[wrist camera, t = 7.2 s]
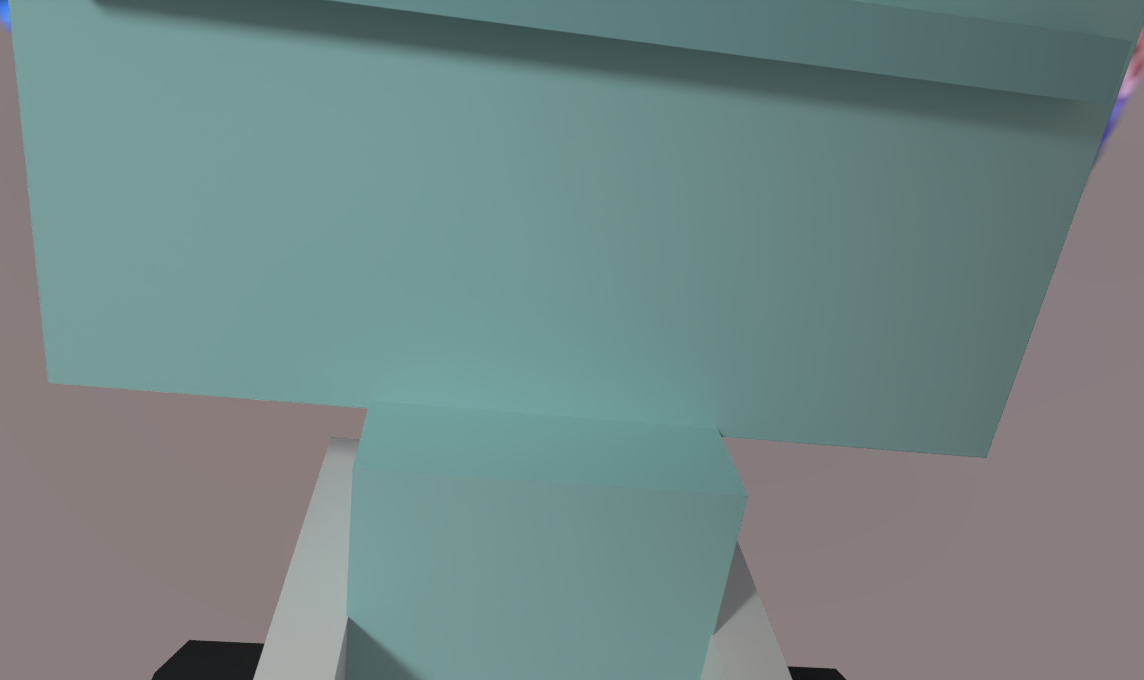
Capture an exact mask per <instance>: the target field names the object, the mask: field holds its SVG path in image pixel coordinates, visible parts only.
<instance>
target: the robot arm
mask: <svg viewBox="0 0 1144 680" xmlns="http://www.w3.org/2000/svg"><path fill="white" fill-rule="evenodd" d="M359 441H360V440H359V439H348V438H334V437H332V438H331V439H330V443H329V446H328V449H327V452H326V455H325V458H324V461H323V464H322V467H321V470H320V474H319V477H318V480H317V483H316V486H315V489H314V492H313V495H312V499H311V502H310V505H309V508H308V511H307V514H306V517H305V520H304V523H303V526H302V530H301V533H300V536H299V539H298V542H297V545H296V548H295V551H294V554H293V558H292V561H291V564H290V567H289V570H288V573H287V576H286V579H285V583H284V585H283V589H282V592H281V595H280V598H279V601H278V604H277V608H276V610H275V614H274V617H273V620H272V623H271V626H270V629H269V632H268V635H267V638H266V641H265V644H260V643H239V642H218V641H197V640H189V641H188V642H187V643H186V644H185V645H184V646H183V647H182V648H180V649H179V650H178V651H177V652H176V653H175V654H174V655H173V656H172V657H171V658H170V659H169V660H168V661H167V662H166V663H165V664H164V665H163V666H162V667H161V668H159V669H158V670H157V671H156V672H155V673H154V676H153V678H152V680H345V668H346V647H347V625H348V616H346V603H347V580H348V558H349V536H350V514H351V492H352V470H353V464H354V460H355V457H356V453H357V449H358V445H359ZM700 680H846V679H845V678H844V677H843V676H842V675H841V674H840V673H839V672H838V671H837V670H836V669H829V668H809V667H788V666H787V665H786V663H785V660H784V657H783V655H782V652H781V650H780V647H779V645H778V642H777V640H776V637H775V635H774V632H773V630H772V627H771V624H770V622H769V620H768V617H767V614H766V612H765V609H764V607H763V604H762V602H761V599H760V597H759V594H758V592H757V589H756V587H755V584H754V582H753V579H752V576H751V574H750V571H749V569H748V566H747V564H746V561H745V559H744V556H743V554H742V551H741V549H740V546H739V544H738V541H737V542H736V546H735V550H734V554H733V558H732V562H731V566H730V570H729V574H728V578H727V582H726V586H725V590H724V594H723V598H722V602H721V606H720V610H719V614H718V618H717V622H716V626H715V630H714V634H713V635H711V638H710V642H709V646H708V650H707V654H706V658H705V662H704V666H703V670H702V674H701V678H700Z"/></svg>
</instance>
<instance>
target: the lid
mask: <svg viewBox="0 0 1144 680" xmlns="http://www.w3.org/2000/svg"><path fill="white" fill-rule="evenodd" d="M8 2H9V11H10V21H11V30H12V40H13V49H14V59H15V69H16V78H17V87H18V98H19V107H20V117H21V127H22V136H23V146H24V155H25V165H26V174H27V184H28V194H29V202H30V213H31V222H32V232H33V241H34V252H35V260H36V271H37V281H38V290H39V300H40V309H41V318H42V329H43V338H44V347H45V358H46V367H47V376H48V383H58V384H70V385H83V386H95V387H108V388H120V389H133V390H146V391H159V392H171V393H184V394H195V395H207V396H208V395H209V396H220V397H232V398H245V399H258V400H270V401H283V402H295V403H307V404H320V405H334V406H345V407H357V408H368V411H367V415H366V419H365V422H364V427H363V430H362V434H361V438H360V441H359V445H358V449H357V453H356V457H355V460H354V464H353V470H352V492H351V514H350V536H349V558H348V580H347V603H346V616H348V625H347V647H346V668H345V680H700V678H701V674H702V670H703V666H704V662H705V658H706V654H707V650H708V646H709V642H710V638H711V635H713V634H714V630H715V626H716V622H717V618H718V614H719V610H720V606H721V602H722V598H723V594H724V590H725V586H726V582H727V578H728V574H729V570H730V566H731V562H732V558H733V554H734V550H735V546H736V542H737V538H738V534H739V530H740V526H741V521H742V517H743V513H744V509H745V505H746V501H747V497H748V495H747V493H746V491H745V489H744V487H743V485H742V482H741V480H740V478H739V475H738V473H737V471H736V469H735V466H734V464H733V462H732V460H731V458H730V455H729V453H728V451H727V449H726V446H725V444H724V442H723V440H722V437H731V438H744V439H757V440H770V441H781V442H794V443H807V444H819V445H831V446H845V447H857V448H869V449H881V450H894V451H907V452H918V453H931V454H944V455H956V456H969V457H981V458H986V457H987V454H988V451H989V448H990V446H991V443H992V440H993V437H994V435H995V432H996V429H997V426H998V423H999V421H1000V418H1001V415H1002V413H1003V410H1004V407H1005V404H1006V402H1007V399H1008V396H1009V393H1010V390H1011V388H1012V385H1013V382H1014V380H1015V377H1016V374H1017V371H1018V369H1019V366H1020V363H1021V360H1022V357H1023V355H1024V352H1025V349H1026V346H1027V344H1028V341H1029V338H1030V335H1031V333H1032V330H1033V327H1034V324H1035V321H1036V319H1037V316H1038V313H1039V311H1040V308H1041V305H1042V302H1043V299H1044V297H1045V294H1046V291H1047V289H1048V286H1049V283H1050V280H1051V278H1052V275H1053V272H1054V269H1055V267H1056V264H1057V261H1058V258H1059V256H1060V253H1061V250H1062V247H1063V245H1064V242H1065V239H1066V236H1067V233H1068V231H1069V228H1070V225H1071V222H1072V220H1073V217H1074V214H1075V211H1076V209H1077V206H1078V203H1079V200H1080V198H1081V195H1082V192H1083V189H1084V187H1085V184H1086V181H1087V178H1088V176H1089V173H1090V170H1091V167H1092V165H1093V162H1094V159H1095V156H1096V154H1097V151H1098V148H1099V145H1100V143H1101V140H1102V137H1103V134H1104V132H1105V129H1106V126H1107V123H1108V121H1109V118H1110V115H1111V112H1112V110H1113V107H1114V104H1115V101H1116V99H1117V96H1118V93H1119V90H1120V88H1121V85H1122V82H1123V79H1124V76H1125V74H1126V71H1127V68H1128V65H1129V63H1130V60H1131V57H1132V54H1133V52H1134V49H1135V46H1136V43H1137V41H1138V38H1139V35H1140V32H1141V30H1142V27H1143V24H1144V0H8Z"/></svg>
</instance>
